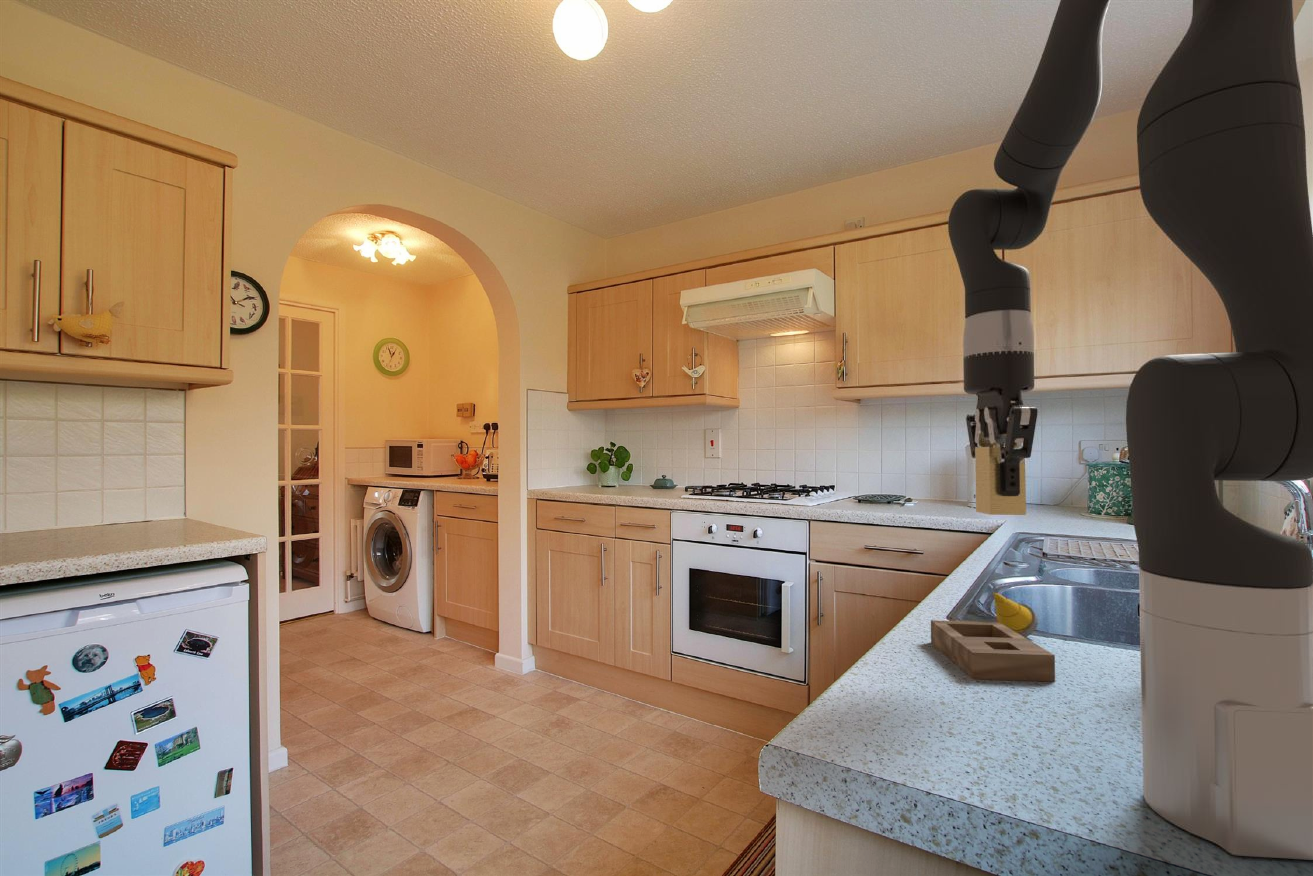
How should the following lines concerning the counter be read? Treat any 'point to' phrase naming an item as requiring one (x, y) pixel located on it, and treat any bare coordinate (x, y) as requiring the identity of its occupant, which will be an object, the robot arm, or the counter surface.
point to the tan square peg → (995, 486)
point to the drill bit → (1015, 616)
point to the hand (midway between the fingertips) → (999, 494)
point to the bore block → (992, 651)
